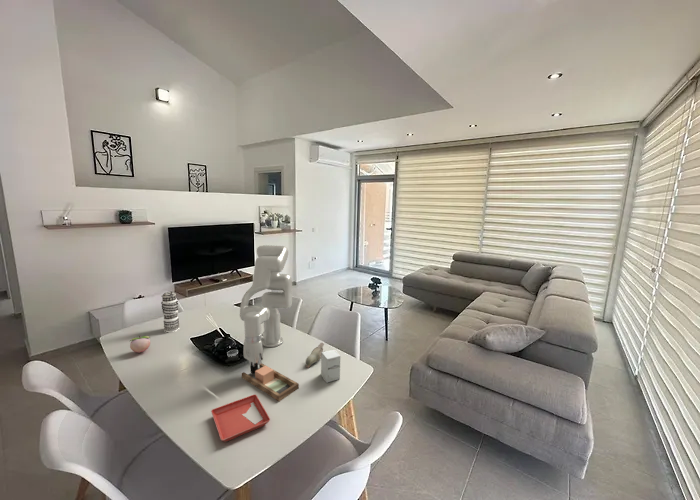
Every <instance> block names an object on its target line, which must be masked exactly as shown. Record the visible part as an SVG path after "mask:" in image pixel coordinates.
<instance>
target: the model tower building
mask: <svg viewBox="0 0 700 500" xmlns="http://www.w3.org/2000/svg"><path fill="white" fill-rule="evenodd" d="M161 297H162V301H161V302H160V304H161V310H162V315H163V321H162V322H163V327H164V328H163V330H164V331H165V330H166V332H171V333H175V332H177V330H178V329H179V330H180V322H179V319H180V318H179V315H178V313H179V306H178V305H179V300H177V299H178V298H177V293H175V292H174V291H167V292H164V293H163V294H162V295H161ZM179 330H178V331H179ZM174 331H175V332H174ZM166 332H165V333H166Z"/></svg>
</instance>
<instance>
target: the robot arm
mask: <svg viewBox="0 0 700 500" xmlns="http://www.w3.org/2000/svg"><path fill="white" fill-rule="evenodd" d="M256 255H257V258H256V259H255V262H254V269H253V277H252V285H251V286H250V287H249V288H248V290H246V292H245V293H244V294H243V296H242V298H241V302H240V306H239V307H240V308H239V318H240V320H241V321H243V323H244V341H243V348H242V349H243V353H242V354H243V358H244V359H245V360H248V362H249V365H250V373H252V374H254V373H255V371H256V370H258V369H259V365H260V364H263V362H262V361H263V360H264V347H265V348H275V347H278V346H281V345H282V344H283V343H284V338H283V337H281V314H280V311H279V309H286V310H287V309H290V308H291V307H292V303H293V281H292V280H293V279H292V275H290V274H288V273H281V272H283V270H284V268H285V266H286V263H287V260H288V258H289V249H288V247H287V246H286V245H270V244H269V245H267V244H265V245H259V246H257V248H256ZM265 290H269V291H266V292H264V293H263V294H262V295H261V306H257V305H256V306H255V305H253V306H252V305H249V302H250V300H251V298H252V297H253V296H254V295H256V294H258V293H259V292H262V291H265ZM270 290H271V291H270ZM262 324H263V332H262ZM262 338H263V339H262Z"/></svg>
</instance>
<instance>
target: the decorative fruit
mask: <svg viewBox="0 0 700 500" xmlns="http://www.w3.org/2000/svg"><path fill="white" fill-rule="evenodd" d="M138 336H139V337H138ZM138 336H137V337H133V338H132V339H130V340H129V342H130V345H129V346H130V350H132V352H134V353H140V352H142V353H144V352H145V351H147V350H148V349H149V347H150V346H151V340H150V339H151V337H150V336H148V335H146V336H145V335H144V336H141V335H138Z"/></svg>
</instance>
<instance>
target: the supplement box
mask: <svg viewBox="0 0 700 500" xmlns="http://www.w3.org/2000/svg"><path fill="white" fill-rule="evenodd" d="M324 351H325V352H324ZM324 351H323V352H321V358H320V375H321V377H322V379H323V380H324V381H325V383H326V384H327V383H330V382H333V381H337V380H340V379H341V354H339V352H338V351H337V350H336V349H330V350H324Z"/></svg>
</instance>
